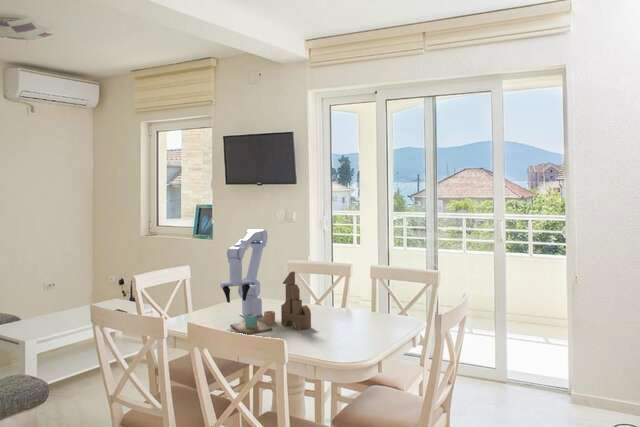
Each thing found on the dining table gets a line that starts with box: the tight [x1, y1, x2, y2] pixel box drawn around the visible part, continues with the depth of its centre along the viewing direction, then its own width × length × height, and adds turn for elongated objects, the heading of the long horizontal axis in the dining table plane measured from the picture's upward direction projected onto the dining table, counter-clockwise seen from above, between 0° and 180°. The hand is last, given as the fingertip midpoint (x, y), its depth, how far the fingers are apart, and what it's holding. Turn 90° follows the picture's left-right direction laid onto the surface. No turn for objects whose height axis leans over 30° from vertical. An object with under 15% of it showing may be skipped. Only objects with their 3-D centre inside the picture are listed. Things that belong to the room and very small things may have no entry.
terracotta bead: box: [263, 310, 276, 325], centre depth 231 cm, size 5×5×5 cm
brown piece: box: [229, 314, 273, 335], centre depth 221 cm, size 14×16×7 cm
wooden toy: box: [280, 271, 312, 331], centre depth 224 cm, size 15×7×25 cm, turn 42°
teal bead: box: [244, 314, 258, 328], centre depth 221 cm, size 5×5×5 cm
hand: (236, 301), depth 232 cm, fingers open, 7 cm apart
